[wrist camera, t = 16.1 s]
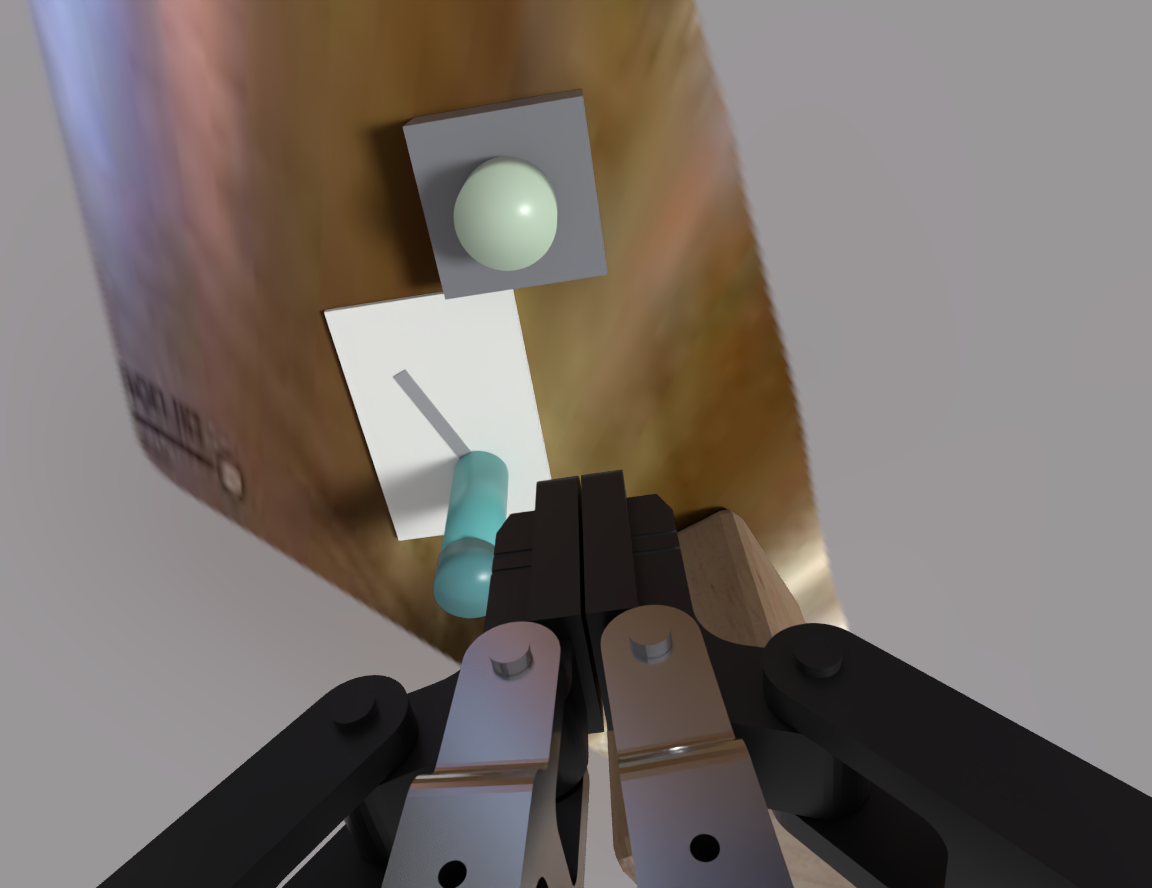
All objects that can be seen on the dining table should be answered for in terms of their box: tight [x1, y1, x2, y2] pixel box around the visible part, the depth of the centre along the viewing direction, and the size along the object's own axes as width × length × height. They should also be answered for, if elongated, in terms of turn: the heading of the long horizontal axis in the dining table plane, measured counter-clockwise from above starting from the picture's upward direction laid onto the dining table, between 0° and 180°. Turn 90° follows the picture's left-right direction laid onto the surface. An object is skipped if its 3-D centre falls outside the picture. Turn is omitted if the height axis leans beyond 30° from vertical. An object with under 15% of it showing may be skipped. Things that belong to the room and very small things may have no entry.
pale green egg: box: [454, 156, 558, 271], centre depth 36 cm, size 4×4×6 cm
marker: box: [433, 452, 509, 618], centre depth 42 cm, size 3×3×10 cm
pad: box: [324, 289, 551, 541], centre depth 45 cm, size 15×10×1 cm, turn 9°
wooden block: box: [607, 509, 856, 888], centre depth 43 cm, size 10×10×20 cm
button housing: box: [403, 89, 608, 300], centre depth 38 cm, size 8×8×3 cm
